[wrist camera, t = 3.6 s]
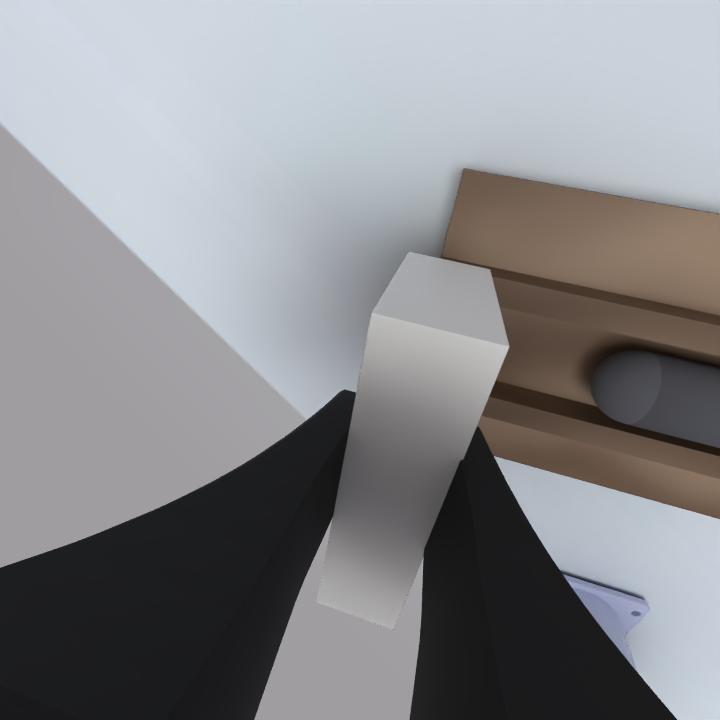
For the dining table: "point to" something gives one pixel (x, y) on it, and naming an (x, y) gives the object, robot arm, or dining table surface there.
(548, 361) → the channel deck
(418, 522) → the grey bracket
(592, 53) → the dining table surface
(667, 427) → the grey slider with block
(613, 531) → the dining table surface
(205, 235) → the dining table surface
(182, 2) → the dining table surface
